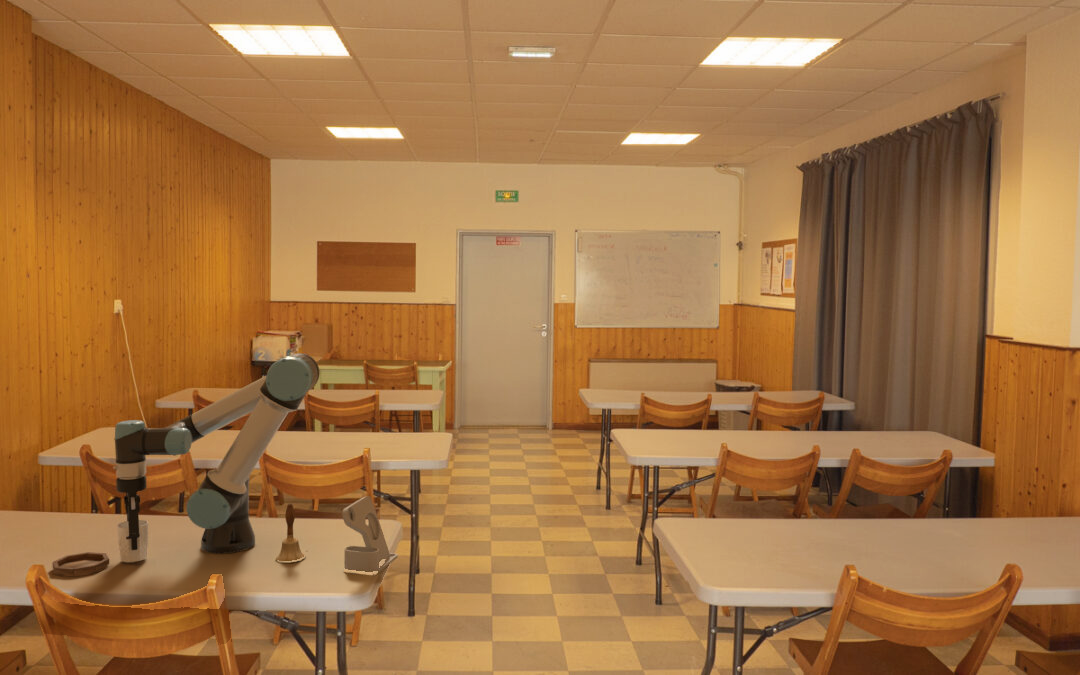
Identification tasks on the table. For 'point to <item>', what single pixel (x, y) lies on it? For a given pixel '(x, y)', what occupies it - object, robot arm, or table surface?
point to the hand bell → (290, 539)
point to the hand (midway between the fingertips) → (133, 556)
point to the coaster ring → (80, 564)
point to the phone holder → (366, 538)
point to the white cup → (124, 544)
